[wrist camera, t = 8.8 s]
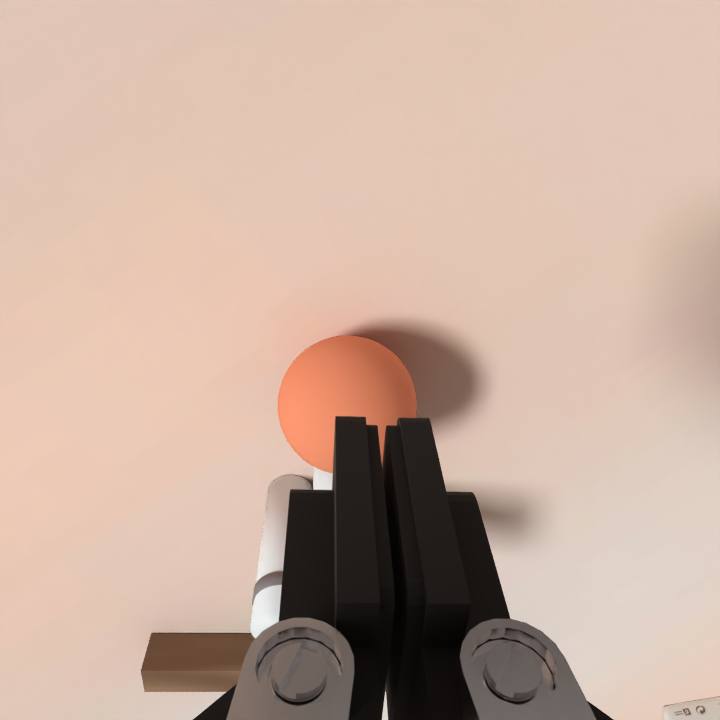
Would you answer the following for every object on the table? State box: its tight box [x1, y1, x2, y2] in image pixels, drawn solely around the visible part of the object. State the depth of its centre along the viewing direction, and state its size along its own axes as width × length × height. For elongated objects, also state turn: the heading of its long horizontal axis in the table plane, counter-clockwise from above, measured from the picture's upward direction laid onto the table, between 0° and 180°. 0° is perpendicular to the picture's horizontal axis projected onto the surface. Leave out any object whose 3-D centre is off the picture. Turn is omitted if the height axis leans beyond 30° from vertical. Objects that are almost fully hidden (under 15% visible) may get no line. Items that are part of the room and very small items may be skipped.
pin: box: [250, 475, 313, 639], centre depth 30 cm, size 2×2×8 cm
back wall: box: [141, 633, 386, 692], centre depth 39 cm, size 2×22×2 cm, turn 87°
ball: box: [278, 336, 417, 473], centre depth 28 cm, size 6×6×6 cm
